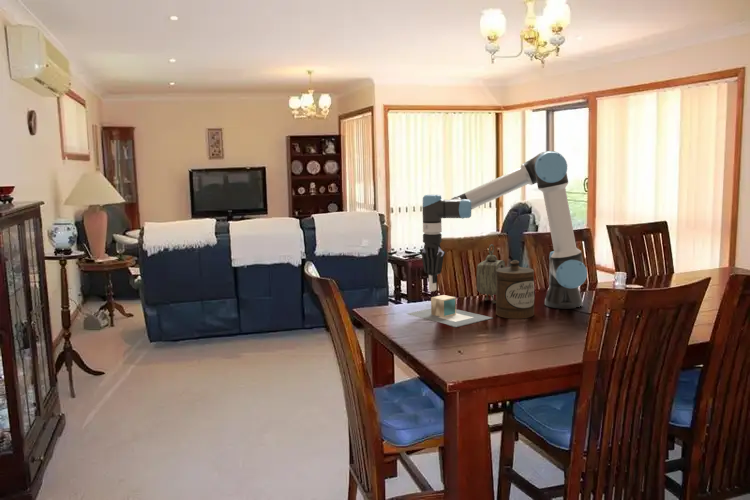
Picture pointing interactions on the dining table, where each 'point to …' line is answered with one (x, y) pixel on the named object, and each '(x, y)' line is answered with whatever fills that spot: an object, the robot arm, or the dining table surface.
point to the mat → (452, 317)
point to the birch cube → (443, 305)
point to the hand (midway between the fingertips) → (432, 290)
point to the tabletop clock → (488, 274)
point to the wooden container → (515, 291)
